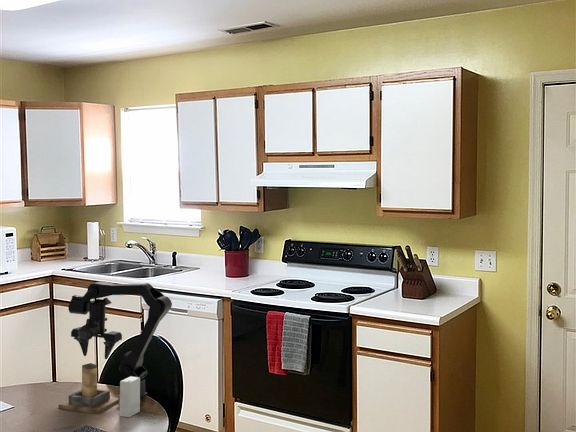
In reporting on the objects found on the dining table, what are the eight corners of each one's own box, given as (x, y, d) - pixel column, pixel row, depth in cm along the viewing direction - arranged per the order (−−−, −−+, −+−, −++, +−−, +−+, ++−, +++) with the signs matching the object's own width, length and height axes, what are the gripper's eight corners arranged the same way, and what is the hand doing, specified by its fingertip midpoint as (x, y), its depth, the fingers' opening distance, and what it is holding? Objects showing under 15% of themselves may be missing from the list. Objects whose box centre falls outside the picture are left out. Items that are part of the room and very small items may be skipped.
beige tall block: (90, 399, 232) (90, 363, 231) (96, 401, 230) (96, 364, 229) (82, 401, 229) (81, 365, 228) (88, 404, 227) (88, 367, 226)
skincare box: (129, 410, 225) (129, 375, 224) (140, 412, 223) (140, 377, 222) (118, 416, 219) (118, 380, 218) (130, 418, 217) (130, 382, 217)
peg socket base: (119, 401, 233) (119, 390, 233) (98, 413, 221) (98, 401, 220) (81, 396, 238) (81, 385, 238) (58, 408, 226) (58, 396, 225)
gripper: (61, 316, 237) (60, 359, 237) (105, 322, 230) (104, 366, 231) (81, 311, 247) (79, 352, 248) (123, 317, 241) (121, 358, 242)
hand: (95, 357), depth 242 cm, fingers open, 9 cm apart
